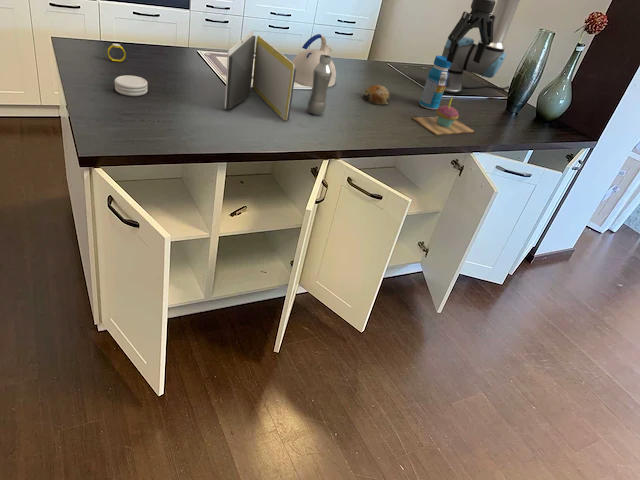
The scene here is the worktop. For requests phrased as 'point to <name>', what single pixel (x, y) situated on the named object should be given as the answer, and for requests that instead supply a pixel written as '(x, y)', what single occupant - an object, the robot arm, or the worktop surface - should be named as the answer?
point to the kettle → (311, 62)
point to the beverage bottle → (435, 83)
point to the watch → (116, 47)
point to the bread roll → (377, 95)
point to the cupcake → (447, 115)
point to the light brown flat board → (437, 129)
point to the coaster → (131, 85)
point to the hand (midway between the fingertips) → (463, 62)
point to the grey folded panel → (259, 75)
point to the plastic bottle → (320, 86)
